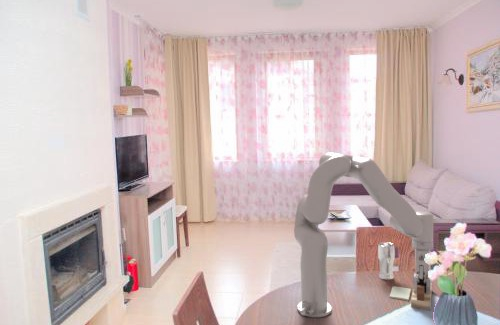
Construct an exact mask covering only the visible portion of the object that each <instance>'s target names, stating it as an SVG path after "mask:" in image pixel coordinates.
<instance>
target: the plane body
mask: <svg viewBox="0 0 500 325" xmlns="http://www.w3.org/2000/svg"><path fill="white" fill-rule="evenodd" d="M424 288H425V286H422V285H417V292H413V291H412V292H411V299H410V307H411V308H415V309H421V310H429V311H431V304H432V293H433V283H432V282H431V293H430V294H424Z"/></svg>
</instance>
